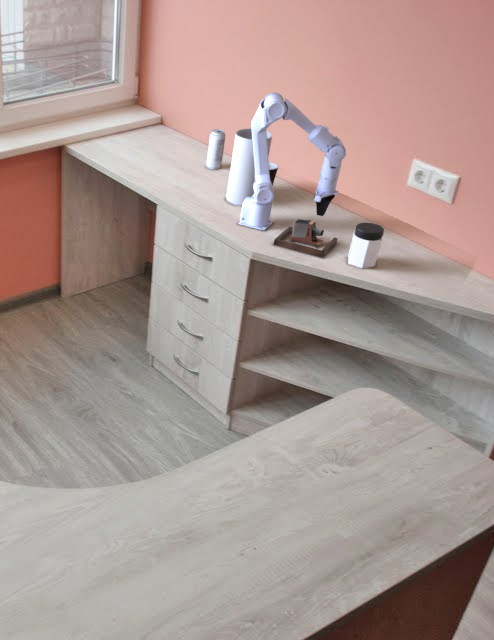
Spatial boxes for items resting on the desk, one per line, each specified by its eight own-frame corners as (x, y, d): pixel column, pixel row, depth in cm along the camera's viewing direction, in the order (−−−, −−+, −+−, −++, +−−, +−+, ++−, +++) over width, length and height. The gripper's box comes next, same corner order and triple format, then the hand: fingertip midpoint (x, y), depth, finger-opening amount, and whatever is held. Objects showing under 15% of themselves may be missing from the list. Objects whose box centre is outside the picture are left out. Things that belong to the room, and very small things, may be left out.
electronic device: (318, 248, 262) (323, 227, 258) (289, 241, 267) (293, 220, 263) (323, 243, 265) (327, 222, 261) (294, 236, 270) (298, 216, 266)
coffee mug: (276, 195, 300) (281, 169, 294) (253, 195, 300) (257, 169, 294) (268, 183, 310) (272, 158, 304) (245, 183, 310) (250, 159, 304)
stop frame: (273, 244, 265) (274, 239, 264) (288, 231, 274) (289, 225, 272) (322, 258, 256) (323, 252, 255) (336, 243, 265) (338, 238, 264)
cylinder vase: (224, 205, 293) (234, 138, 279) (226, 192, 303) (236, 127, 289) (259, 208, 290) (272, 141, 276) (260, 195, 300) (272, 130, 286)
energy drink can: (213, 163, 328) (218, 127, 320) (224, 168, 324) (229, 131, 316) (202, 166, 326) (207, 130, 317) (213, 171, 321) (218, 134, 313)
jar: (355, 269, 249) (365, 234, 243) (341, 258, 256) (349, 223, 249) (381, 266, 251) (391, 231, 244) (365, 255, 258) (375, 220, 251)
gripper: (333, 186, 258) (324, 225, 266) (348, 173, 268) (339, 210, 275) (311, 181, 262) (303, 219, 270) (327, 168, 271) (319, 206, 279)
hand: (320, 215), depth 273 cm, fingers closed
